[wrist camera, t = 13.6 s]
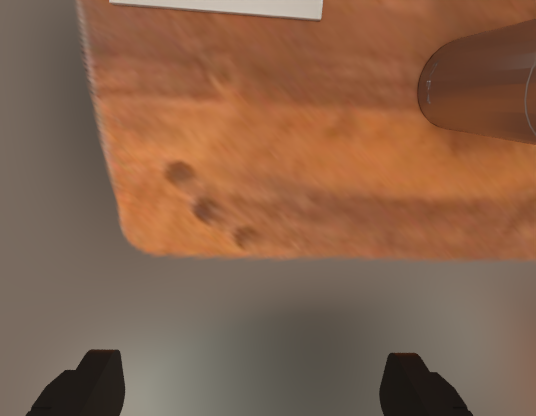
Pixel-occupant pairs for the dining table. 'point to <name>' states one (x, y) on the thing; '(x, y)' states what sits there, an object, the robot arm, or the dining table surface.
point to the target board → (239, 7)
